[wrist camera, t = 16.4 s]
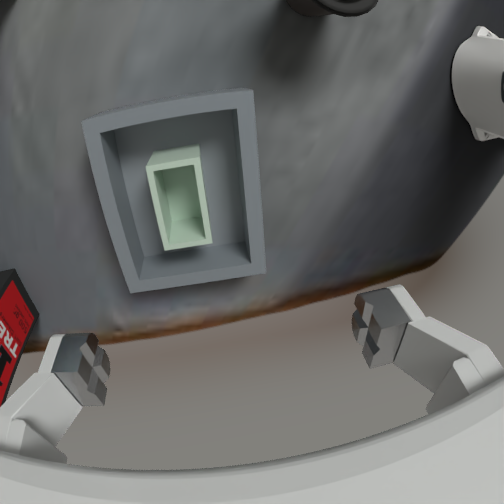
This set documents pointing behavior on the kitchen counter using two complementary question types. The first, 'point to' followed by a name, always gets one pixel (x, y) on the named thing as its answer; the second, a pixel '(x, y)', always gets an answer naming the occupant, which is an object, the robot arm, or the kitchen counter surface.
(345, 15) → the coffee cup
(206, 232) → the small crate
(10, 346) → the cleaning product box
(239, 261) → the large crate
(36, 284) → the kitchen counter surface
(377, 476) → the robot arm
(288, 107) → the kitchen counter surface
